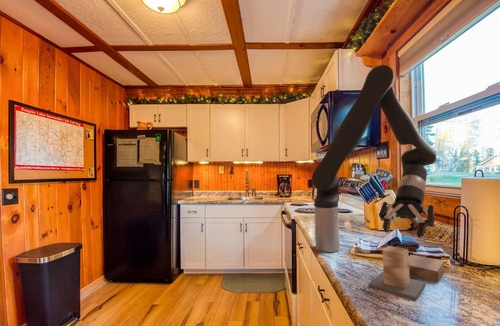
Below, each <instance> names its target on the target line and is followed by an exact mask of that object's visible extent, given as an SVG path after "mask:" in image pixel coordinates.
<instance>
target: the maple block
mask: <svg viewBox="0 0 500 326" xmlns="http://www.w3.org/2000/svg"><path fill="white" fill-rule="evenodd" d="M409 256H410V255H409V248H403V247H397V246H391V245H387V246H386V247H385V248H383V249H382V266H383V268H382V270H383V271H382V272H383V273H384V283H385V284H388V285H392V286H396V287H399V288H403V289H405V288H406V287H407V286H408V284H409V283H410V279H411V278H410V277H411V276H410V275H409Z"/></svg>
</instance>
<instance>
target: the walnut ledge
mask: <svg viewBox="0 0 500 326" xmlns="http://www.w3.org/2000/svg"><path fill="white" fill-rule="evenodd" d="M444 272H445V261H444V260H441V259H440V260H439V259H435V258H430V257H425V256H424V257H423V256H419V255H414V254H410V255H409V277H416V278H418V279H423V280H427V281H432V282H436V283H439V282H440V280H441V278H442V276H443V274H444Z"/></svg>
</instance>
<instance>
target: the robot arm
mask: <svg viewBox="0 0 500 326" xmlns="http://www.w3.org/2000/svg"><path fill="white" fill-rule="evenodd" d="M394 81H395V72H394V70H393V68H392V66H389V65H387V64H380V65H377V66H374V67H373V68H372V69H371V70H369V72H368V74H367V75H366V78H365V81H364V83H363V85H362V88H361V91H360V92H359V94H358V97H357V98H356V100H355V101H354V103H353V104H352V106H351V108H349V111H348V112H347V113H346V115H345V117H344V119H343V120H342V122H341V123H340V125H339V127H338V129H337V131H336V133H335V135H334V137H333V139H332V141H331V143H330V144H329V147H328V149H327V151H326V153H325V154H324V156H323V158H322V160H321V161H320V162H319V164H318V165H317V167H316V168H315V169H314V171H313V173H312V175H311V183H312V186H313V188H315V189H316V195H315V199H314V228H315V230H314V231H315V232H314V233H315V234H314V235H315V236H314V237H315V238H314V239H315V251H319V252H324V253H336V252H339V251H340V230H339V229H340V228H339V227H340V225H339V221H340V220H339V199H340V183H339V182H340V179H339V174H338V172H339V170H341V169H340V168H341V167H342V165H343V164H344V161H345V160H346V159H347V158H348V157H349V156H350V154H351V153H353V151H354V150H355V149H356V148H357V147H358V145H359V143H360V141H361V140H362V138H363V136H364V134H365V133H366V131H367V129H368V126H369V124H370V122H371V120H372V118H373V115H374V112H375V110H376V108H377V107H378V106H379V107H380V108H381V110H382V112H383V114H384V115H385V118H386V121H387V123H388V125H389V127H390V129H391V130H392V132H393V135H394V137H395V139H396V141H397V143H398V144H399V145H401V146H405V145H412V146H413V147H414V148H411V149H408V150H406V151H404V152H403V153H402V155H401V156H400V160H401V165H402V166H401V167H402V174H401V179H400V181H399V183H398V187H397V191H396V195H395V198H394V202H393V203H392V204H391V203H388V202H387V201H384V202H382V205H381V209H380V211H379V213H378V216H379V218H380V220H381V221H383V222H382V223H383V224H382V229H383V231H384V232H385V233H387V234H388V233H389V232H390V227H391V222H393V221H396V220H398V219H408V220H413V219H414V220H415V221H416V222H417V224H418V225H417V230H416V236H417V238H419V239H421V238H422V237H424V236H425V231H426V227H430V228H431V227H432V228H433V227H434V226H435V214H436V212H435V208H434V206H433V205H432V204H430V205H428V206H424V200H425V195H426V182H427V176H428V171H427V169H426V168H425V166H429V165H433V164H434V163H436V160H437V153H436V150H435V149H434V148H433V147H432V146H431V145H430V144H429V143H428V142H427V141H426V139H425V138H423V136H422V135H421V134H420V133H419V130H418V129H417V127H416V126H415V123H414V121H413V119H412V118H411V115H409V113H408V112H407V111H406V109H405V108H404V107H403V105H402V104H401V102H400V101H399V99H398V98H397V95H396V92H395V90H394V86H393V84H394ZM388 212H389V213H388ZM423 212H424V213H425V214H426V215H427V219H424V218H423V217H422V216H421V214H422V213H423Z"/></svg>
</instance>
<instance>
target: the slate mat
mask: <svg viewBox="0 0 500 326" xmlns="http://www.w3.org/2000/svg"><path fill="white" fill-rule="evenodd" d="M426 285H427V284H426V282H424V281H421V280H417V279H412V278H410V283H409V284H408V286H407V287H406V288H405V289H403V288H399V287H396V286H392V285H388V284H385V283H384V273H383V271H381V272H380V273H379V274H378V275H377V276H375V278H373V279H372V280H371V281H370V282H369V283H368V288H372V289H375V290H379V291H382V292H386V293H389V294H393V295H394V296H395V295H396V296H399V297H403V298H407V299H410V300H413V301H417V300H418V298H419V297H420V295H421V293H422V292H423V290H424V289H425V287H426Z"/></svg>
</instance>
